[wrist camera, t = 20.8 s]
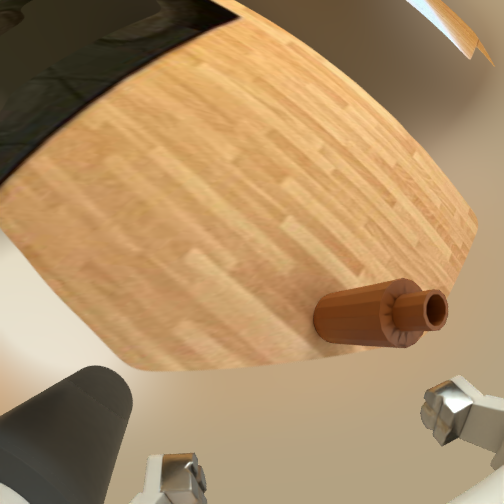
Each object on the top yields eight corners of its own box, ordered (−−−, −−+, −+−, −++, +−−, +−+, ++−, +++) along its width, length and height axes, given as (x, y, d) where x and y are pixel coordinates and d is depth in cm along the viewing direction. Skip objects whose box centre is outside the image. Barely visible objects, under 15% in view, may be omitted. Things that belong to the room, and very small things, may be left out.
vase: (342, 351, 38) (443, 361, 22) (304, 326, 37) (399, 325, 21) (363, 309, 40) (464, 296, 24) (328, 283, 39) (425, 256, 23)
